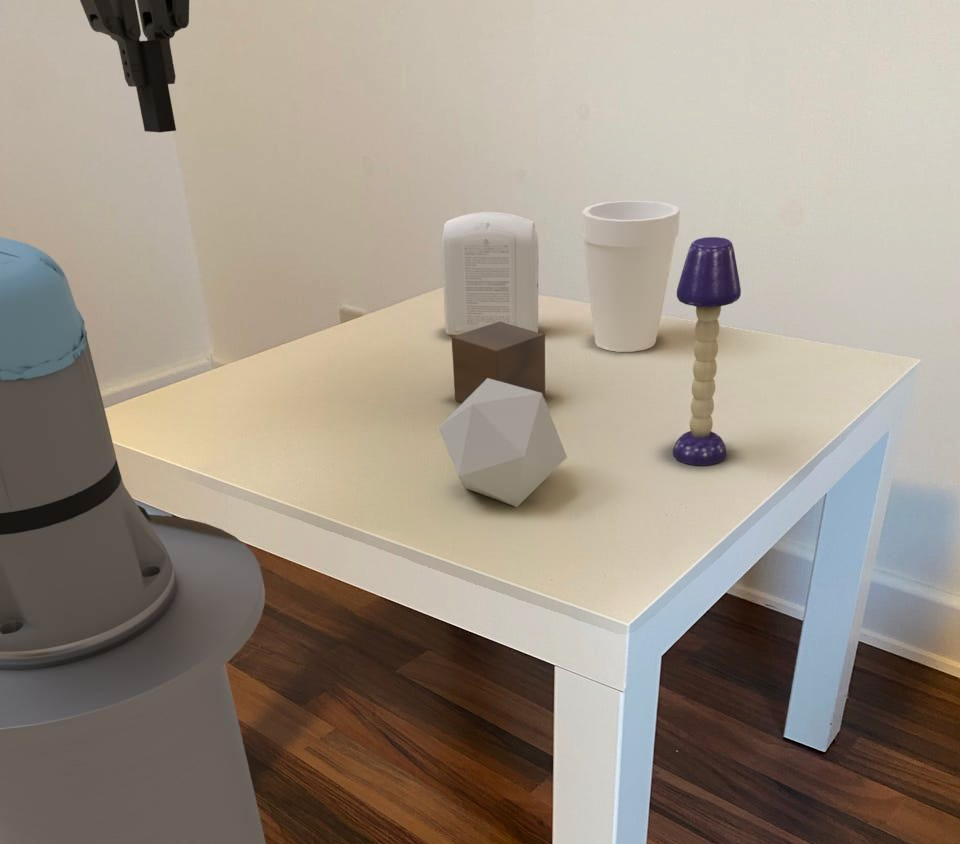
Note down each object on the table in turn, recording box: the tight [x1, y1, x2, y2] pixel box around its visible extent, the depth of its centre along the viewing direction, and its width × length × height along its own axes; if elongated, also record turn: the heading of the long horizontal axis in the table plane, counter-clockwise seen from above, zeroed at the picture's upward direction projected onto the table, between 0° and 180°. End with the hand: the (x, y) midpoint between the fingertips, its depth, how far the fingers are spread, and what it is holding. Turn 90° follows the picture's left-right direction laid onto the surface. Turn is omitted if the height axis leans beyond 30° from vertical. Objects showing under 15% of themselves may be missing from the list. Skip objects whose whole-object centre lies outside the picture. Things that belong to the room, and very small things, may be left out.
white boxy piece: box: [441, 211, 539, 336], centre depth 107 cm, size 10×4×12 cm, turn 81°
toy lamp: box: [672, 236, 742, 466], centre depth 77 cm, size 5×5×17 cm
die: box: [437, 378, 568, 508], centre depth 76 cm, size 8×9×10 cm
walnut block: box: [451, 322, 546, 404], centre depth 92 cm, size 6×6×6 cm
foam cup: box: [580, 199, 681, 353], centre depth 102 cm, size 10×9×13 cm
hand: (160, 130), depth 84 cm, fingers closed
